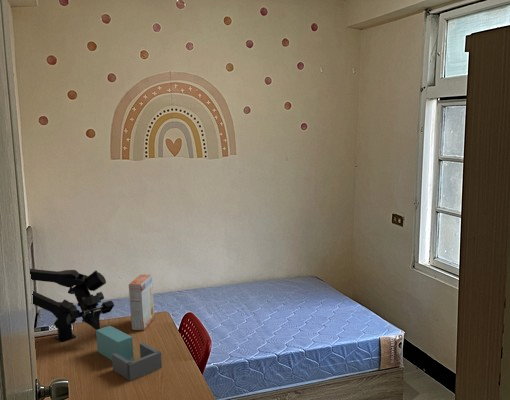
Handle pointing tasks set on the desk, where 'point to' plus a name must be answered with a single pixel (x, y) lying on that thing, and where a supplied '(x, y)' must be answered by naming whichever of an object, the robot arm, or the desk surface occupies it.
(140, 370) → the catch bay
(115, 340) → the teal block
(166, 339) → the desk surface
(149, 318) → the cracker box
